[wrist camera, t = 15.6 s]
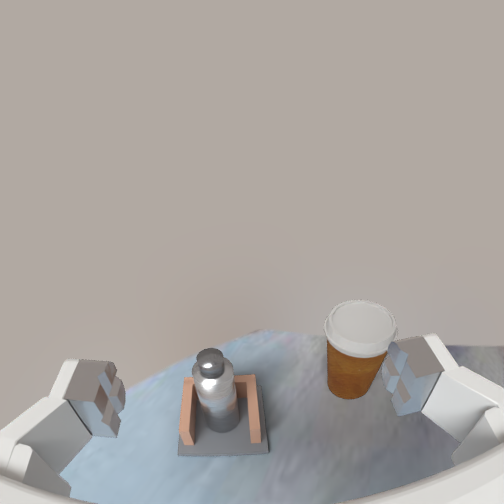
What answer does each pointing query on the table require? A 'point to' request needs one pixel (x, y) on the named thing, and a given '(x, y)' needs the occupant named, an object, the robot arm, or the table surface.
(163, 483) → the table surface
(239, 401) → the dock
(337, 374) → the disposable coffee cup
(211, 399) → the silver water flask
